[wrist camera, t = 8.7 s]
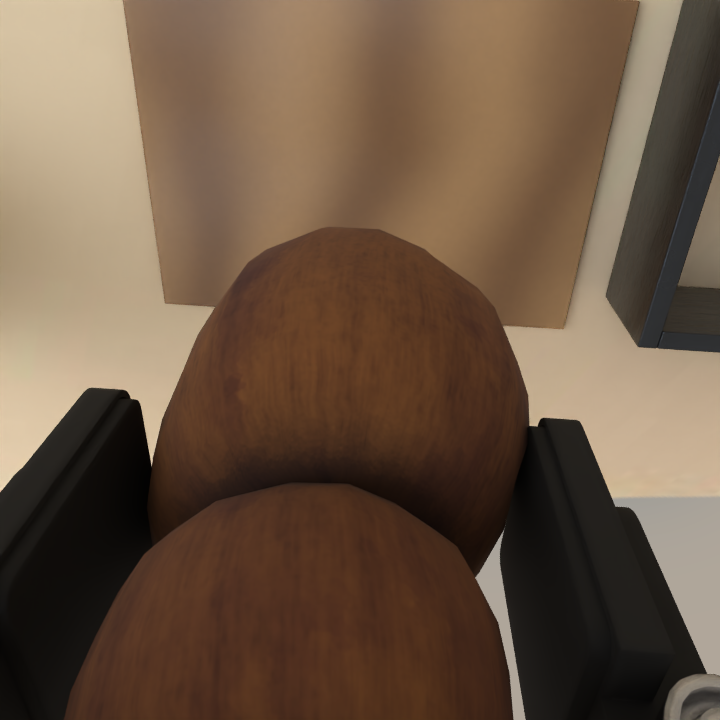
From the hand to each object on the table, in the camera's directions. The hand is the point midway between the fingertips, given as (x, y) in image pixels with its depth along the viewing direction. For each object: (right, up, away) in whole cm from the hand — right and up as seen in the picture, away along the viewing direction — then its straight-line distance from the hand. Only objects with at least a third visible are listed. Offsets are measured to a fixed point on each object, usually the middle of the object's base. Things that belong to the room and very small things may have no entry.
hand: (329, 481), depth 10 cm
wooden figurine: (0, +3, +5) cm, 6 cm away
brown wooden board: (+1, +10, +18) cm, 20 cm away
